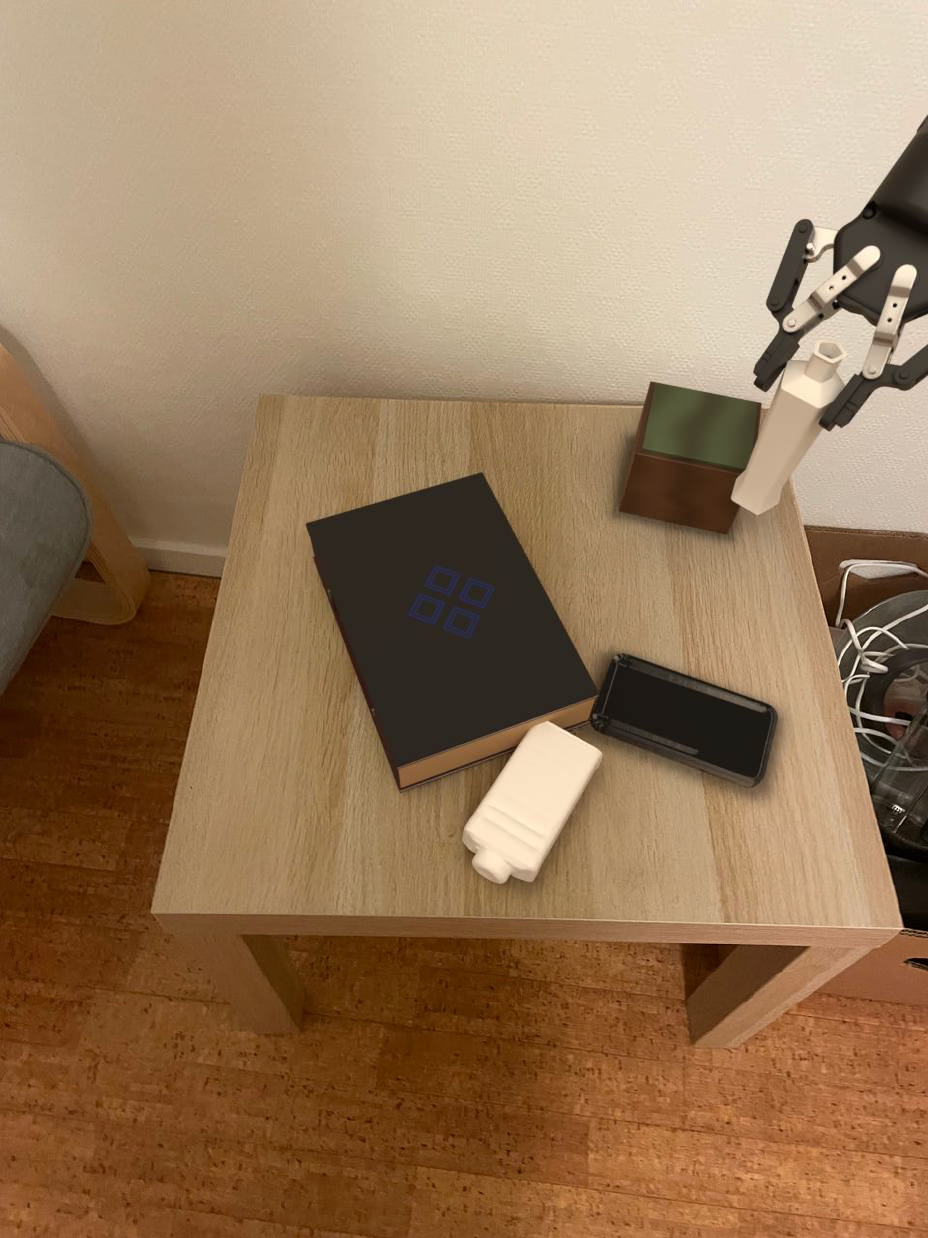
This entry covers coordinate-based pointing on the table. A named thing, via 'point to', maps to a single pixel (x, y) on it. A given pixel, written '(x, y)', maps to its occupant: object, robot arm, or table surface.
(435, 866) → the table surface
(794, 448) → the cream faceted bottle shape
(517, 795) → the white bottle
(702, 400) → the stand
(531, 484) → the table surface
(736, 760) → the phone
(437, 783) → the table surface
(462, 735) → the book
